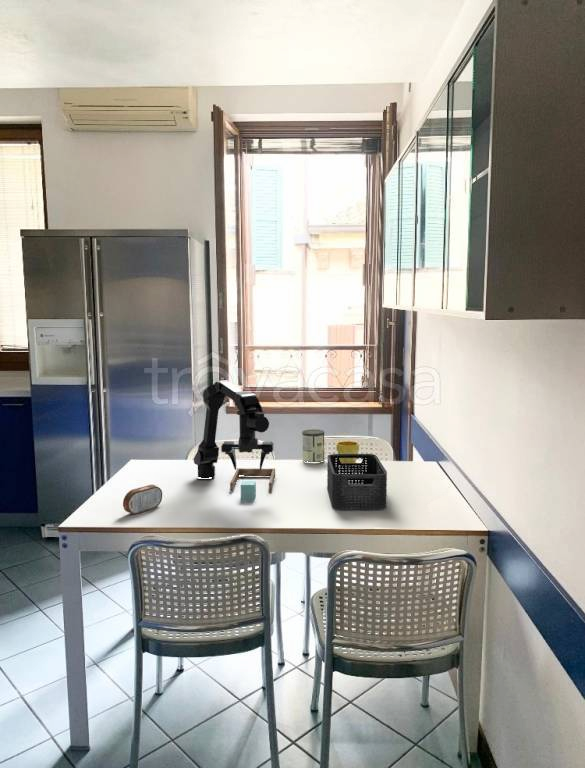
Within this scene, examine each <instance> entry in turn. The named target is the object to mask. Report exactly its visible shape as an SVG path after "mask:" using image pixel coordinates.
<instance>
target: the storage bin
mask: <svg viewBox="0 0 585 768" xmlns="http://www.w3.org/2000/svg"><path fill="white" fill-rule="evenodd" d="M340 458H356V459H362V460H361V462H356V463H341V462H340ZM326 465H327V479H326V480H327V481H326V483H327V484H326V489H327V492H328V493H327V494H328V496H329V500H330V505H331V508H332V509H334V510H337V511H381V510H386V509H387V495H388V494H387V493H388V492H387V486H388V484H387V483H388V481H387V480H388V478H387V477H388V472H387V470H386V468H385V467H384V465H383V464H382V462H381V461H380V458H379V457H378V456H377V455H376V454H372V453H357V454H338V453H331V454H328V455H327V464H326Z"/></svg>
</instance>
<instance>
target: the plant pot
mask: <svg viewBox="0 0 585 768" xmlns="http://www.w3.org/2000/svg"><path fill="white" fill-rule="evenodd" d="M335 445H336V452H337V454H359V453H358V452H359V451H360V443H359V442H357V441H355V440H353V441H351V440H343V441H338V442H336V444H335ZM339 459H340V462H341V463H357V458H339Z"/></svg>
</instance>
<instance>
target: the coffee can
mask: <svg viewBox="0 0 585 768" xmlns="http://www.w3.org/2000/svg"><path fill="white" fill-rule="evenodd" d="M301 433H302V462H303V461H305V462H307V461H308V462H321V461H324V462H325V430H322V429H315V428H314V429H306V430H305V429H304V430H303V431H302V432H301Z"/></svg>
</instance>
